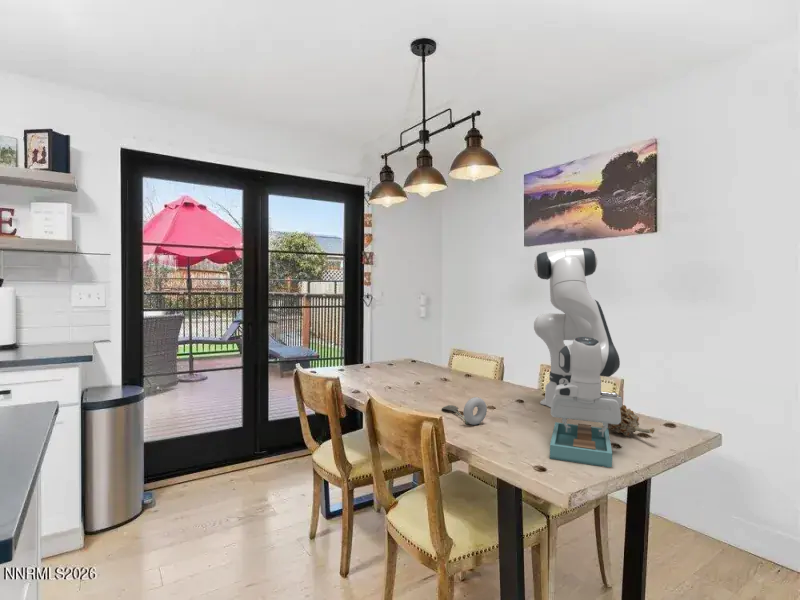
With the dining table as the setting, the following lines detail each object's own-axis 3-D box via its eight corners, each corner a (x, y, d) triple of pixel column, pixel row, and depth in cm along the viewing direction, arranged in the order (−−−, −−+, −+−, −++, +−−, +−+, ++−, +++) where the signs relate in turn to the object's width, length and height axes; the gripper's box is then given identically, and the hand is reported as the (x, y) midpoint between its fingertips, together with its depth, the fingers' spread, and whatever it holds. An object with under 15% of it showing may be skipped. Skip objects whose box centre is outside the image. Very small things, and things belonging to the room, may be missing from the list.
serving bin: (554, 433, 154) (555, 422, 153) (607, 440, 147) (608, 428, 147) (549, 458, 131) (550, 445, 131) (611, 467, 125) (612, 453, 125)
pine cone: (592, 428, 160) (593, 400, 160) (613, 425, 164) (614, 398, 164) (647, 449, 140) (648, 417, 140) (669, 445, 143) (670, 414, 143)
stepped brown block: (574, 438, 147) (574, 423, 147) (594, 440, 145) (594, 425, 145) (572, 456, 132) (573, 439, 131) (595, 459, 129) (595, 442, 129)
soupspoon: (454, 410, 185) (439, 412, 184) (454, 402, 185) (439, 403, 184) (476, 424, 164) (459, 426, 162) (475, 415, 164) (458, 417, 162)
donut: (467, 428, 158) (467, 399, 158) (461, 425, 161) (461, 397, 161) (488, 423, 164) (489, 396, 163) (482, 421, 167) (482, 394, 166)
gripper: (621, 391, 139) (620, 435, 139) (551, 385, 146) (550, 427, 147) (623, 395, 133) (622, 442, 133) (550, 389, 141) (549, 432, 141)
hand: (584, 434), depth 140 cm, fingers open, 8 cm apart
